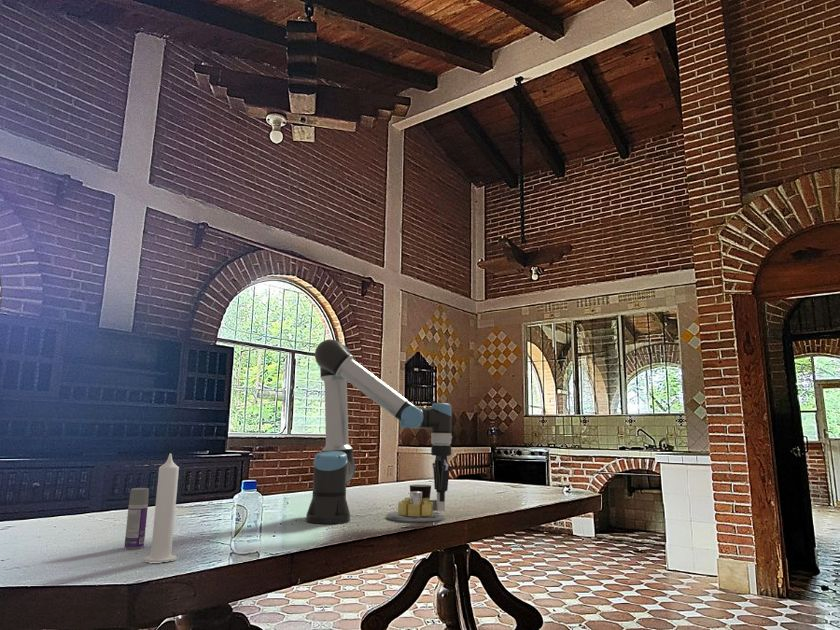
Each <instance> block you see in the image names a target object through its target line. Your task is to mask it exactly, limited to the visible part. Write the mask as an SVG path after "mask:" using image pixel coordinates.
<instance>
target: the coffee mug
mask: <svg viewBox="0 0 840 630" xmlns="http://www.w3.org/2000/svg"><path fill="white" fill-rule="evenodd" d="M413 491H418V492H422V500H423V498H430V499H431V492H432V485H431V484H410V485H409V493H410V492H413Z"/></svg>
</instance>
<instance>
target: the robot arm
mask: <svg viewBox="0 0 840 630" xmlns="http://www.w3.org/2000/svg"><path fill="white" fill-rule="evenodd" d="M314 359H315V362H316V364H317V365H318V366H319V367H320V369H319V370H320V371H319V372H320V379H321V380H322V381H323V382H324V411H325V412H324V414H325V415H324V416H325V417H324V418H325V420H324V421H325V446H324V447H323V448H322V449H321V452H318V453H316V454H315V455H314V459H313V463H312V464H313V474H312V475H313V476H312V497H311V501H310V504H309V506H308V510H307V511H306V516H305V517H306V518H305V521H306V522H307V523H310V524H311V523H312V524H318V525H319V524H321V525H323V524H324V525H326V524H327V525H328V524H330V525H331V524H332V525H333V524H334V525H335V524H336V525H337V524H343V523H348V522H350V520H351V512H350V508H349V505H348V501H347V484H348V483H350V481H352V479H353V477H354V476H355V473H356V463H355V460H354V448H353V447H352V446H351V445H350V442H349V413H348V411H349V409H348V383H349V384H351V386H353V387H355V388H356V389H357V390H359V391H360V393H363V394H364V395H365V396H366V397H368V398H369V399H370V400H372V401H373V402H375V403H376V404H377V405H378V406H379V407H381V408H383V409H384V410H385V411H386V412H387V413H389V414H390V415H391V416H393V417H394V418H396V419H397V420H398V421H399V425H400V427H401V428H403V429H431V434H430V435H431V437H430V438H431V439H430V443H431V444H432V445H431V448H430V449H431V451H430V452H431V455H432V456H434V457H435V459H434V462H432V470H433V485H434V490H435V491H436V500H437V511H438V512H442V511H443V512H445V511H446V492H448V490H449V489H448V488H449V477H450V468H451V465H450V464H449V461H448V457H449V456H451V455H452V446H451V445H452V439H453V436H452V427H453V426H452V420H453V419H452V418H453V416H452V415H453V414H452V404H450V403H447V402H446V403H443V402H439V403H438V402H434V403H432V404H431V408H430V407H429V408H423V407H418V406H416V405H415V404H413V403H412V402H411V401H409V400H408V399H407V398H405V397H404V396H402V394H400V393H398V391H396V390H395V389H393V388H392V387H390V386H389V385H388V384H387V383H386V382H384V381H382V380H381V378H379V377H377V376H376V375H375V374H373V373H372V372H371V371H369V370H368V369H366V368H365V367H364V366H363V365H361V364H360V363H359V362H358V361H356V360H354V356H353V354H351V350H350V349H349V348H348V347H347V346H346V345H344V344H343V343H342V342H340V341H338V340H337V339H326V340H323V341H322V342H320V343H318V345H317V347H316V348H315V350H314ZM437 511H436V512H437Z"/></svg>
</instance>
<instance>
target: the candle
mask: <svg viewBox="0 0 840 630" xmlns="http://www.w3.org/2000/svg"><path fill="white" fill-rule="evenodd" d="M179 470H180V466H178V465H177V464H175V462H174V460H173V454H172V453H169V455H168V457H167V460H166V461H165V463H163V464H162V465H161V466H159V468H158V477H157V487H156V496H155V508H154V519H153V529H152V538H151V539H152V540H151V547H150V548H151V550H150V555H148V556H145V558H144V559H143V560H145V561H147V562H166V561H172V560H175V559H176V560H177V558H178V557H177V555H175V554H172V549H173V538H174V528H175V527H174V525H175V514H176V505H177V494H178V483H179V482H178V481H179ZM176 560H175V561H176ZM145 561H144V562H145Z"/></svg>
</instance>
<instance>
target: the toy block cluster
mask: <svg viewBox="0 0 840 630" xmlns="http://www.w3.org/2000/svg"><path fill="white" fill-rule="evenodd" d="M397 505H398V506H397V507H398V509H397V512H398V514H399V515H403V516H418V517H420V516H431V515H433V512H437V499H431V497H430V498H423V500H421V504H410V497H404V499H402V500H401V501H399V502H398V504H397Z"/></svg>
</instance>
